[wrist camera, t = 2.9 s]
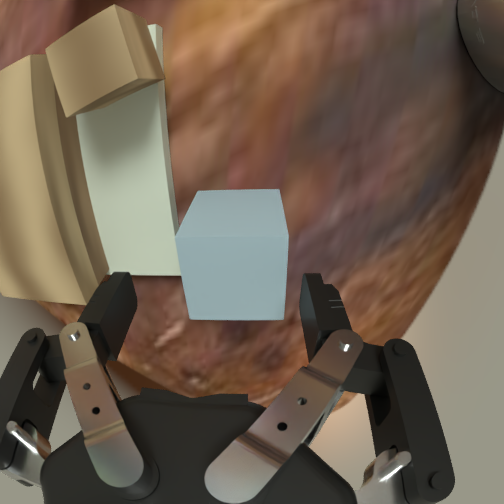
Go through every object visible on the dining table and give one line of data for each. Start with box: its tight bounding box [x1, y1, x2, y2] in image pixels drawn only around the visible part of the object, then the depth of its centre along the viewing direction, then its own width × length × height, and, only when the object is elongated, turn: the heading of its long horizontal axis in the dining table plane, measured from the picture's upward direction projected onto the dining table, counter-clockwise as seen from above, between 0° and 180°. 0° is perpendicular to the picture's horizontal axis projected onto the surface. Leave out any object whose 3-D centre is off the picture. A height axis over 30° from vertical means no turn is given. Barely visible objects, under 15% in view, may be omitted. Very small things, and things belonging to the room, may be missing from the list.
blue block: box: [175, 189, 289, 320], centre depth 17 cm, size 5×5×6 cm
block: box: [45, 4, 165, 118], centre depth 11 cm, size 4×4×4 cm
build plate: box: [76, 24, 181, 276], centre depth 16 cm, size 16×16×1 cm
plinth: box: [0, 54, 109, 305], centre depth 14 cm, size 9×15×4 cm, turn 1°
